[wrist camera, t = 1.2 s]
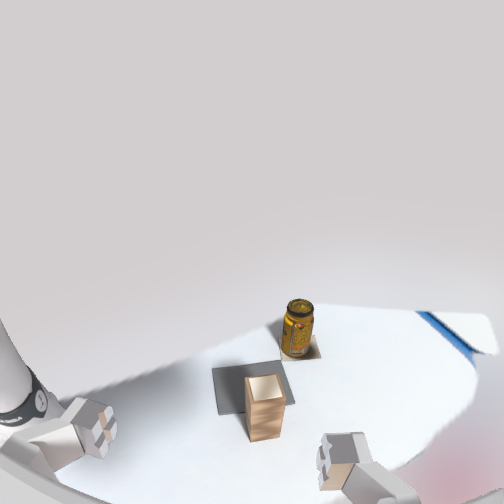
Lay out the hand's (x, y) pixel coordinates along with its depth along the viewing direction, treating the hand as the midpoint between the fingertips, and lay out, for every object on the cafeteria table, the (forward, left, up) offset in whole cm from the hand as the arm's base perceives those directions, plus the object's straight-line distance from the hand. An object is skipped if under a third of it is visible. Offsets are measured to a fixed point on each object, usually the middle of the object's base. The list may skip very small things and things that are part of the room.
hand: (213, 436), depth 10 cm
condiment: (+19, +38, -39) cm, 58 cm away
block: (+7, +20, -39) cm, 45 cm away
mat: (+7, +30, -39) cm, 50 cm away
